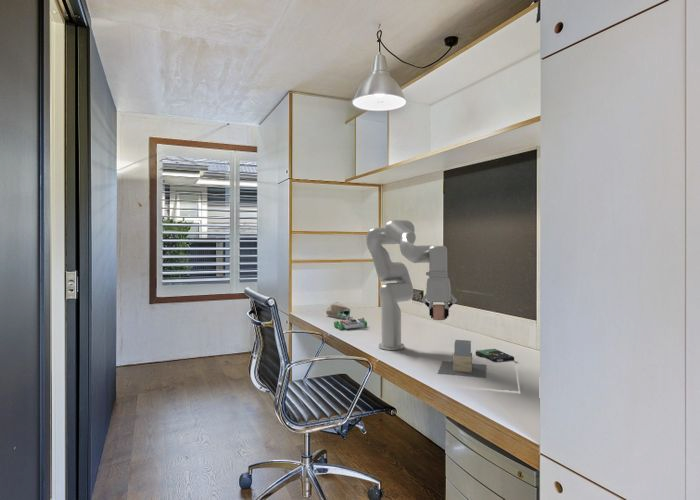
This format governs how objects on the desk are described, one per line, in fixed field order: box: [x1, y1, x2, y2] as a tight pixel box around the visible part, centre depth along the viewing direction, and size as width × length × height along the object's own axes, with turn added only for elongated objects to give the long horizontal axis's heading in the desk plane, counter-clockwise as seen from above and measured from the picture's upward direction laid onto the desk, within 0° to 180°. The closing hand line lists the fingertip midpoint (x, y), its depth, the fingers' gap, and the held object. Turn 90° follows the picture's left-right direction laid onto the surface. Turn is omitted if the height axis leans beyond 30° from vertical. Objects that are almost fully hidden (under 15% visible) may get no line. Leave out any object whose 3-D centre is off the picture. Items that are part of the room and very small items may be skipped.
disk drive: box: [475, 348, 515, 363], centre depth 195 cm, size 10×3×15 cm
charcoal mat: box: [436, 360, 488, 379], centre depth 177 cm, size 18×18×1 cm
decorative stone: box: [325, 302, 351, 320], centre depth 297 cm, size 20×8×10 cm, turn 43°
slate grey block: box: [453, 339, 472, 357], centre depth 176 cm, size 6×6×5 cm
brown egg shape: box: [432, 303, 446, 321], centre depth 185 cm, size 5×5×6 cm
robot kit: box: [333, 310, 368, 331], centre depth 268 cm, size 19×25×9 cm
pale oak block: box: [452, 352, 473, 372], centre depth 177 cm, size 7×7×6 cm
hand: (439, 317), depth 185 cm, fingers closed on brown egg shape, 5 cm apart
